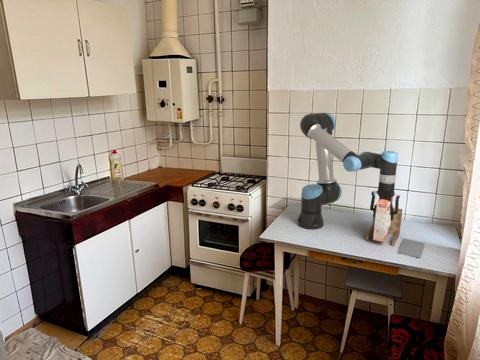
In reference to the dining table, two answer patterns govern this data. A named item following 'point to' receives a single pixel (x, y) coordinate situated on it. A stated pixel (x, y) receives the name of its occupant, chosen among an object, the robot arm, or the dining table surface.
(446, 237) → the dining table surface
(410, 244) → the mat
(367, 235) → the brown wooden legged piece
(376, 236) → the cracker box
